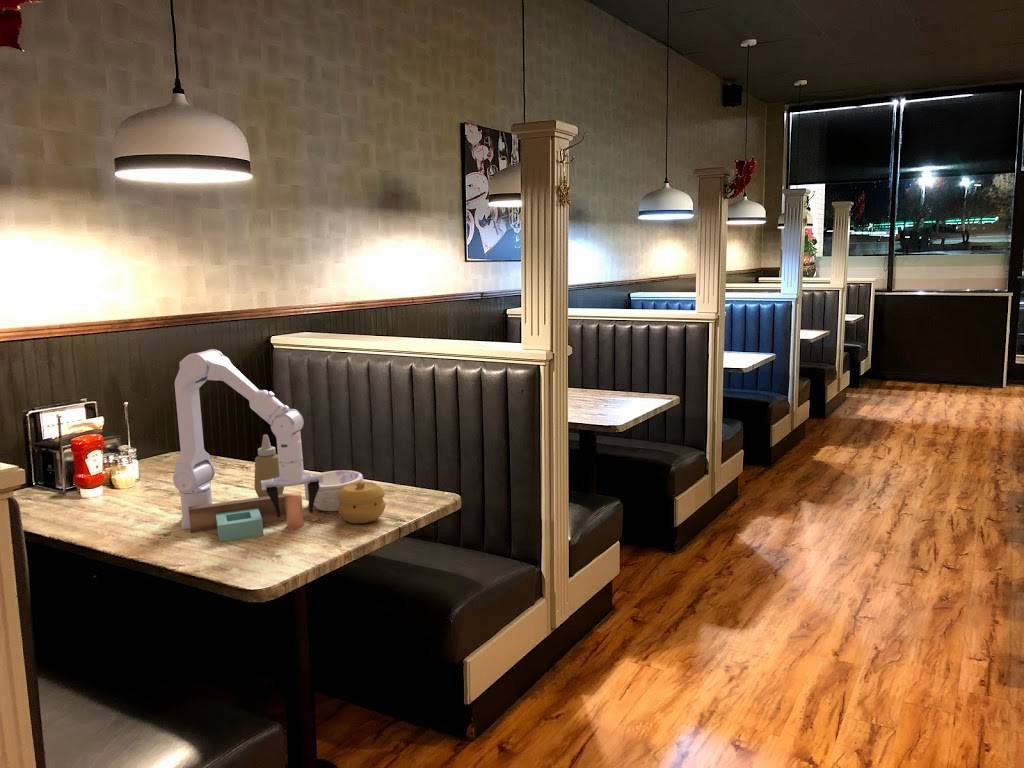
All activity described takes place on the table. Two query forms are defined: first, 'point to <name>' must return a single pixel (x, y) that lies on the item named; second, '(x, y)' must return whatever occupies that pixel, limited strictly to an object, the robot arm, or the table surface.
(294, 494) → the dowel
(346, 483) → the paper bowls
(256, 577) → the table surface
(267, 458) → the squeeze bottle
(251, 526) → the sliding block
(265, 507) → the backstop wall
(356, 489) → the pot
